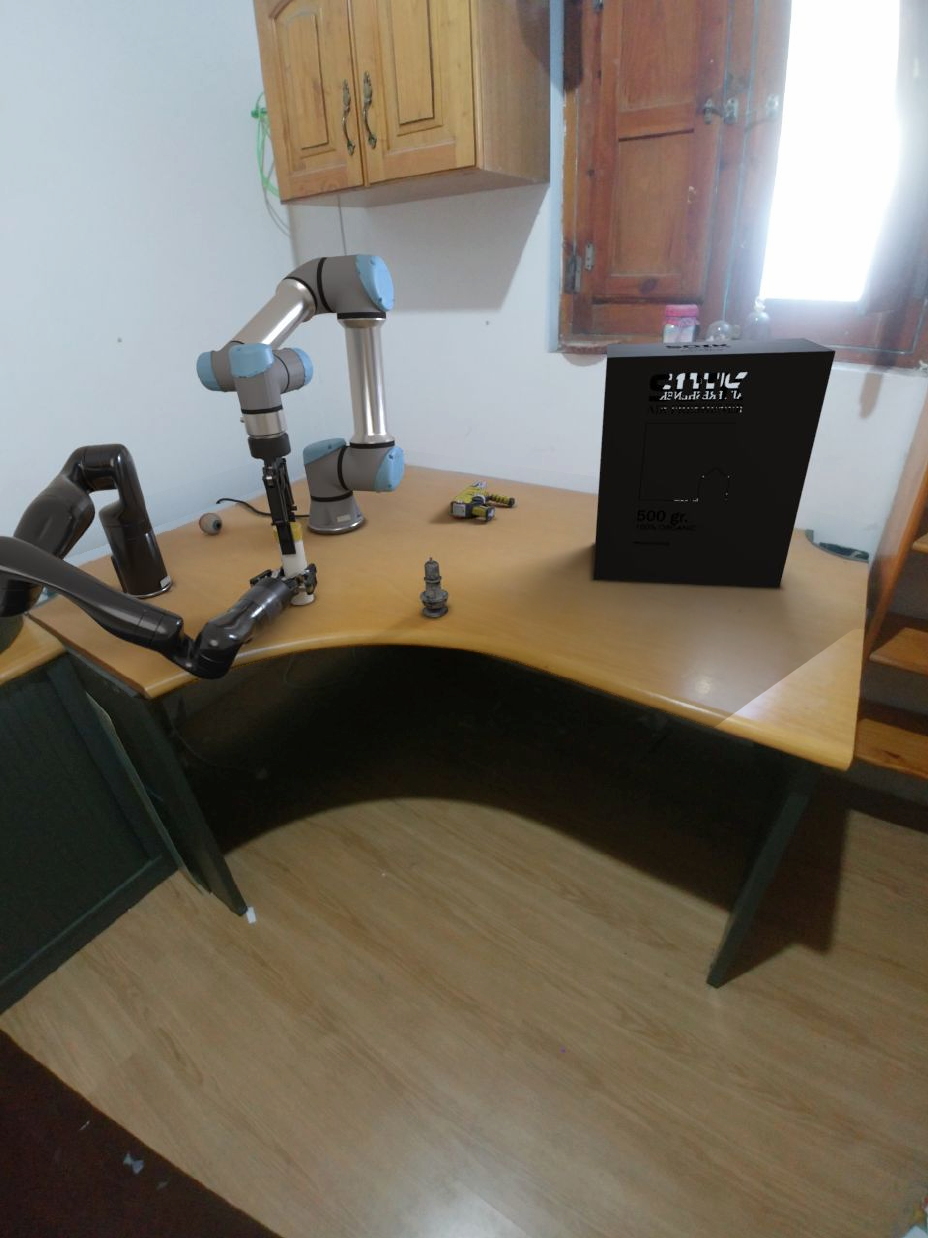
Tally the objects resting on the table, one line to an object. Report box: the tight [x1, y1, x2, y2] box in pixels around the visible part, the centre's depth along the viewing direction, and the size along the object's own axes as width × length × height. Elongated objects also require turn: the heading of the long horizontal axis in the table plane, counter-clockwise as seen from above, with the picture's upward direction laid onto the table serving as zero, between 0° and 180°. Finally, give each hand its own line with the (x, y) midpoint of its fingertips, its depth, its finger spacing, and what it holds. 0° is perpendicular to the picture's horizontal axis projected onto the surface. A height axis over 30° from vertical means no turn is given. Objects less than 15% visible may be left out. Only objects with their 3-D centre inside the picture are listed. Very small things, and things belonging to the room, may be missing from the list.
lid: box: [272, 521, 304, 543], centre depth 123 cm, size 6×6×2 cm
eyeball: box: [198, 512, 223, 536], centre depth 167 cm, size 6×6×6 cm
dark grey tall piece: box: [419, 556, 450, 618], centre depth 120 cm, size 6×6×12 cm
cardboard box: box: [592, 337, 836, 589], centre depth 125 cm, size 38×20×45 cm, turn 78°
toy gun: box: [449, 480, 516, 522], centre depth 174 cm, size 5×24×15 cm
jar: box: [277, 537, 315, 606], centre depth 127 cm, size 5×5×16 cm
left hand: (301, 566), depth 130 cm, fingers closed on jar, 5 cm apart
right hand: (291, 547), depth 125 cm, fingers closed on lid, 5 cm apart
